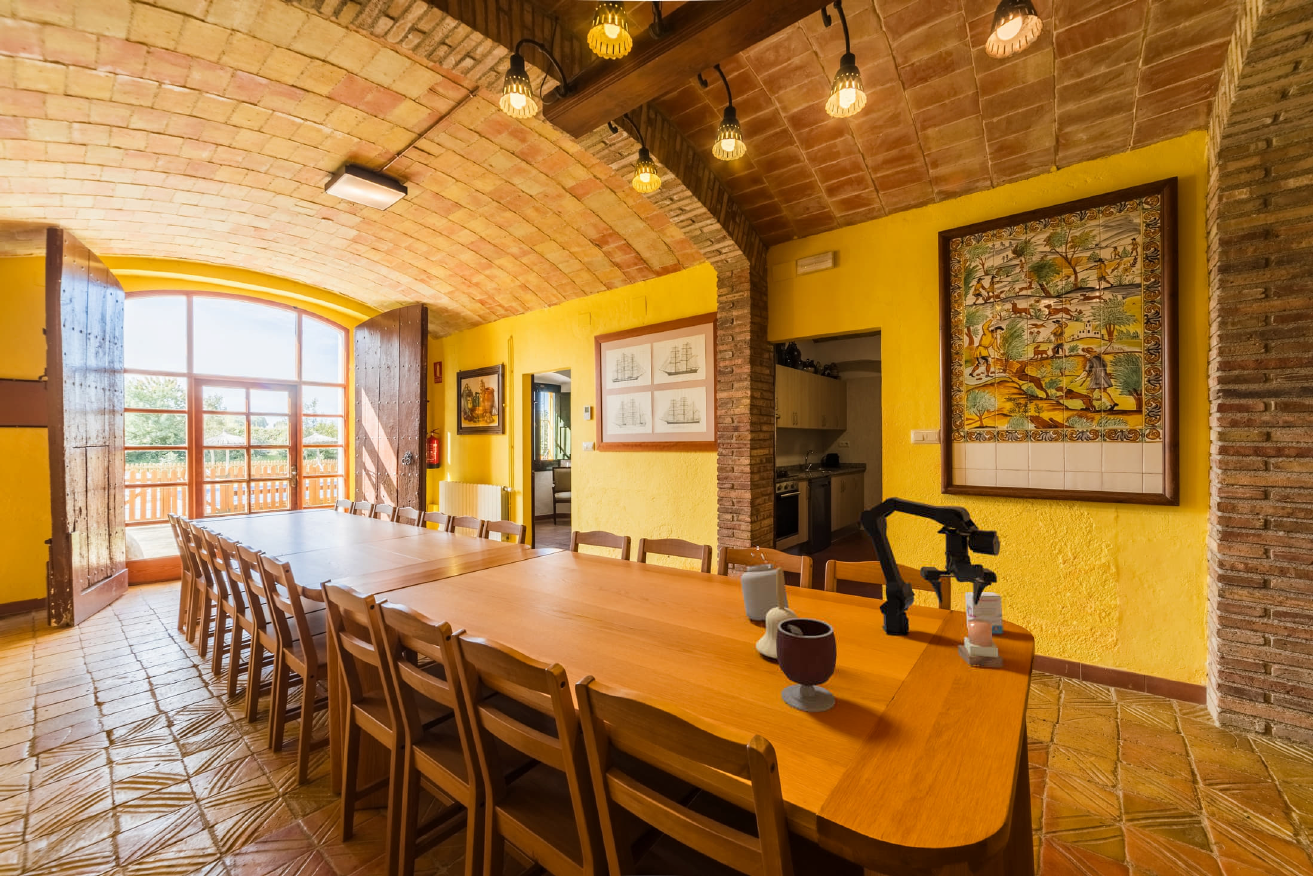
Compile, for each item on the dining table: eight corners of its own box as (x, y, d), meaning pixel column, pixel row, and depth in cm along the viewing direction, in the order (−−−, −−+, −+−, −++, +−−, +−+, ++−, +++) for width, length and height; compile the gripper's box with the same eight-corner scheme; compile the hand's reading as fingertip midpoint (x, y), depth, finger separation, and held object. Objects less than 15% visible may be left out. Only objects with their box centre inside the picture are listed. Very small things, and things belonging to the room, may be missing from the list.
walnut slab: (969, 668, 138) (969, 656, 138) (958, 655, 146) (958, 645, 146) (1002, 669, 137) (1002, 658, 137) (989, 657, 144) (989, 646, 144)
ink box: (994, 628, 164) (993, 591, 164) (1003, 634, 159) (1001, 595, 160) (966, 628, 165) (964, 591, 165) (974, 634, 160) (972, 595, 160)
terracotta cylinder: (972, 646, 139) (971, 625, 139) (966, 638, 144) (965, 618, 144) (995, 647, 138) (994, 626, 138) (988, 639, 143) (987, 619, 143)
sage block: (970, 655, 139) (969, 646, 139) (964, 646, 145) (964, 637, 145) (998, 657, 137) (997, 648, 137) (991, 648, 143) (990, 639, 143)
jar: (730, 614, 186) (727, 545, 186) (762, 607, 193) (760, 540, 193) (764, 630, 169) (761, 554, 169) (798, 622, 176) (795, 548, 176)
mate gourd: (793, 680, 133) (790, 602, 134) (847, 695, 125) (843, 612, 125) (764, 704, 121) (761, 619, 122) (822, 723, 113) (818, 631, 113)
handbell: (766, 640, 161) (763, 559, 161) (815, 648, 153) (812, 564, 153) (748, 658, 148) (745, 570, 148) (801, 669, 140) (798, 576, 140)
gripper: (930, 555, 145) (931, 611, 145) (1005, 557, 141) (1006, 615, 141) (919, 547, 155) (920, 599, 155) (988, 548, 152) (989, 602, 152)
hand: (958, 603), depth 150 cm, fingers open, 9 cm apart
